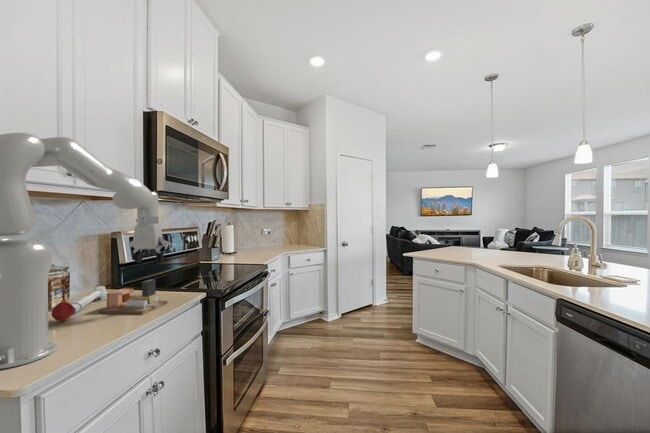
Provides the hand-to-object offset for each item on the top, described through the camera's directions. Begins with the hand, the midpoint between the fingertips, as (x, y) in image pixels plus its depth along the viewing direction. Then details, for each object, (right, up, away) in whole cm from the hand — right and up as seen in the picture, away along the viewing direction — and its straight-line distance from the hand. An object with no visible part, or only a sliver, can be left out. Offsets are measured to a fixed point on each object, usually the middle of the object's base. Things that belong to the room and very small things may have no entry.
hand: (149, 262), depth 113 cm
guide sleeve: (-3, -18, 0) cm, 18 cm away
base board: (-6, -19, 0) cm, 20 cm away
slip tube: (-3, -17, 0) cm, 17 cm away
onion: (-22, -19, -14) cm, 33 cm away
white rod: (-29, -20, +5) cm, 36 cm away
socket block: (-13, -18, +1) cm, 22 cm away
